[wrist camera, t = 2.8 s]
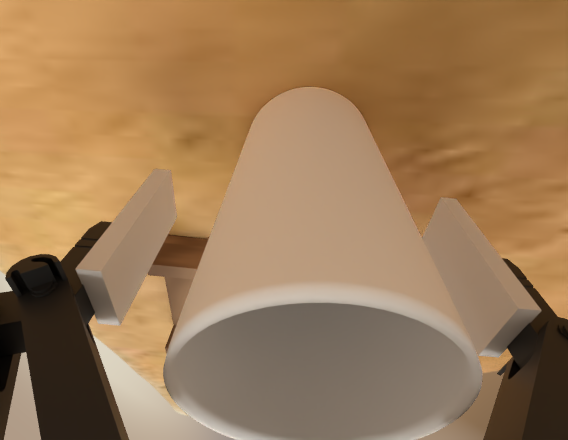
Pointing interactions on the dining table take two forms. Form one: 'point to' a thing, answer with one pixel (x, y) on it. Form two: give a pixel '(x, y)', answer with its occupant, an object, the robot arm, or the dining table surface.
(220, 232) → the cup
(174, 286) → the brown wooden tray
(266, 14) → the dining table surface
